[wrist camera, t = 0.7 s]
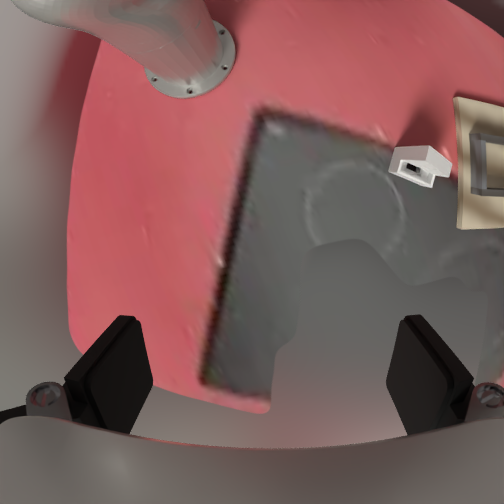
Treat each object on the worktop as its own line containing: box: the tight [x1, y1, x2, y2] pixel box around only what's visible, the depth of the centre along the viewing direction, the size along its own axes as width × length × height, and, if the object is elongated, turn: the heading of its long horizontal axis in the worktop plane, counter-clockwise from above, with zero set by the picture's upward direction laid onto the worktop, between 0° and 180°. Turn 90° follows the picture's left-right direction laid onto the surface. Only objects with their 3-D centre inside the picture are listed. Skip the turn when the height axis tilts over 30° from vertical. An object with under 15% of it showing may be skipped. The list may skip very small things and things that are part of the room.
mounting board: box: [453, 97, 504, 229], centre depth 34 cm, size 20×14×4 cm
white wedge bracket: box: [388, 145, 452, 188], centre depth 34 cm, size 4×10×9 cm
